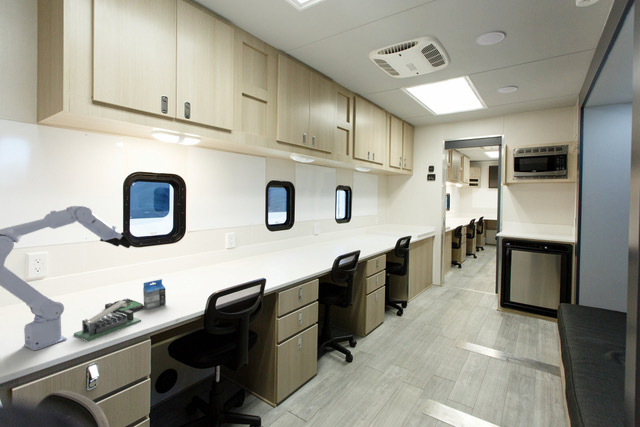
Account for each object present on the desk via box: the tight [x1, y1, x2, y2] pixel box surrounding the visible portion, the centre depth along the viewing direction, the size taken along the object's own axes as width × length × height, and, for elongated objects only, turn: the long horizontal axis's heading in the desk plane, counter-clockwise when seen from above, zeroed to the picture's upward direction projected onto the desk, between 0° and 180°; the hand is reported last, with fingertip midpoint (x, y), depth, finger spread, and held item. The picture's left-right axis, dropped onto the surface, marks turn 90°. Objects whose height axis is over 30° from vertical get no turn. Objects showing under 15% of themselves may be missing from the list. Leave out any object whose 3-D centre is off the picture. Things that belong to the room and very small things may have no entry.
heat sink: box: [81, 312, 127, 336], centre depth 119 cm, size 13×7×5 cm, turn 154°
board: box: [73, 310, 142, 342], centre depth 121 cm, size 20×10×4 cm, turn 154°
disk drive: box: [104, 298, 145, 314], centre depth 141 cm, size 10×3×15 cm
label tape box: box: [142, 278, 167, 310], centre depth 145 cm, size 9×4×12 cm, turn 143°
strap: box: [84, 299, 127, 325], centre depth 120 cm, size 15×3×2 cm, turn 154°
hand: (124, 245), depth 132 cm, fingers open, 7 cm apart
